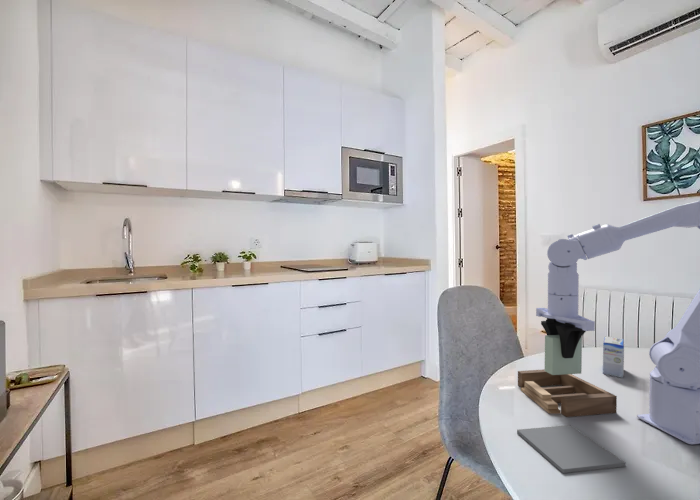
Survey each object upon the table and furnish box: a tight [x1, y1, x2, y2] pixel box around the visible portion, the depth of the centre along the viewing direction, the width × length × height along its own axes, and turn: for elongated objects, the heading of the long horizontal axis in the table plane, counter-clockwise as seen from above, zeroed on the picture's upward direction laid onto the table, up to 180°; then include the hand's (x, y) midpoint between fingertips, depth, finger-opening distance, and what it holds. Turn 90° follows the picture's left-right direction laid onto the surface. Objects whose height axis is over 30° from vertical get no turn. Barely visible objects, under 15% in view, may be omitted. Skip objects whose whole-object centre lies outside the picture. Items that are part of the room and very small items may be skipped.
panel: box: [544, 334, 583, 375], centre depth 74 cm, size 2×7×8 cm, turn 97°
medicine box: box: [602, 336, 625, 378], centre depth 91 cm, size 8×4×9 cm, turn 141°
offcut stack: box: [520, 381, 561, 415], centre depth 74 cm, size 11×2×3 cm, turn 1°
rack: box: [517, 368, 618, 418], centre depth 76 cm, size 16×12×4 cm
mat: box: [516, 424, 627, 474], centre depth 57 cm, size 11×11×1 cm
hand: (562, 355), depth 74 cm, fingers closed on panel, 2 cm apart
